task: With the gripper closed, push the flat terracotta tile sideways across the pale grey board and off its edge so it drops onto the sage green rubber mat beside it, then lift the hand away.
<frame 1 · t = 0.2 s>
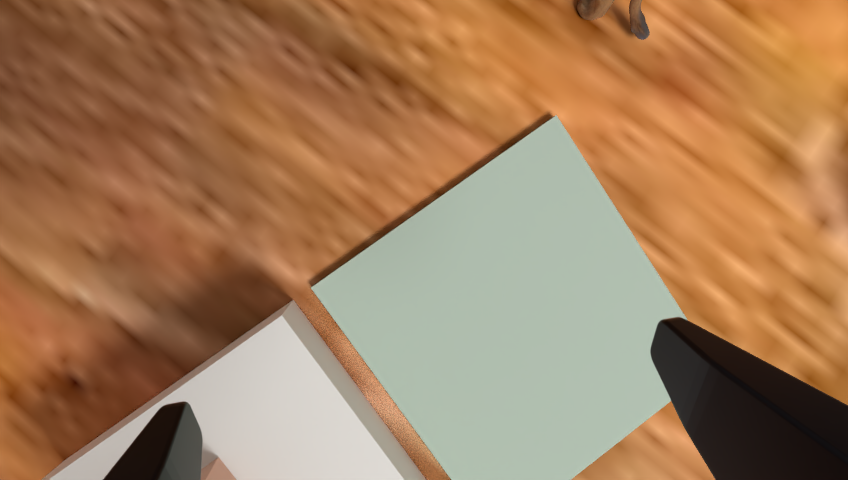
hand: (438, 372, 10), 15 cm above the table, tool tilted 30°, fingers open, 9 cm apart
mat: (522, 327, 25), on the table
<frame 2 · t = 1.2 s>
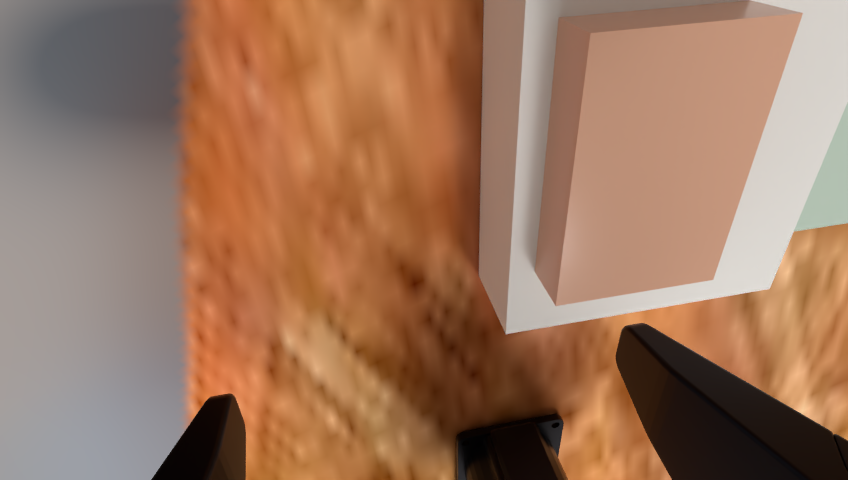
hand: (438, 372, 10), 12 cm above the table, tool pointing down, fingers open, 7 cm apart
tile: (629, 152, 18), point 4 cm above the table, touching board
board: (625, 106, 21), on the table
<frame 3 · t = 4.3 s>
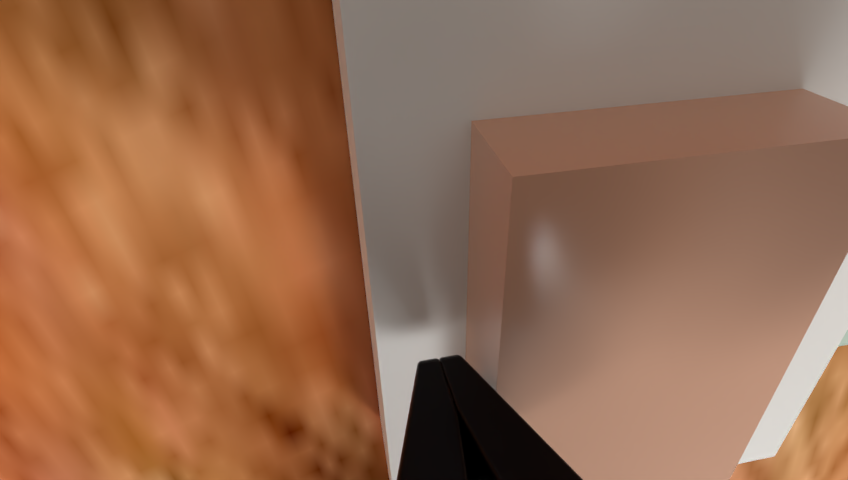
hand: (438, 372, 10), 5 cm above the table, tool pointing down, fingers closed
tile: (601, 307, 11), point 4 cm above the table, touching board, gripper
board: (572, 210, 15), on the table
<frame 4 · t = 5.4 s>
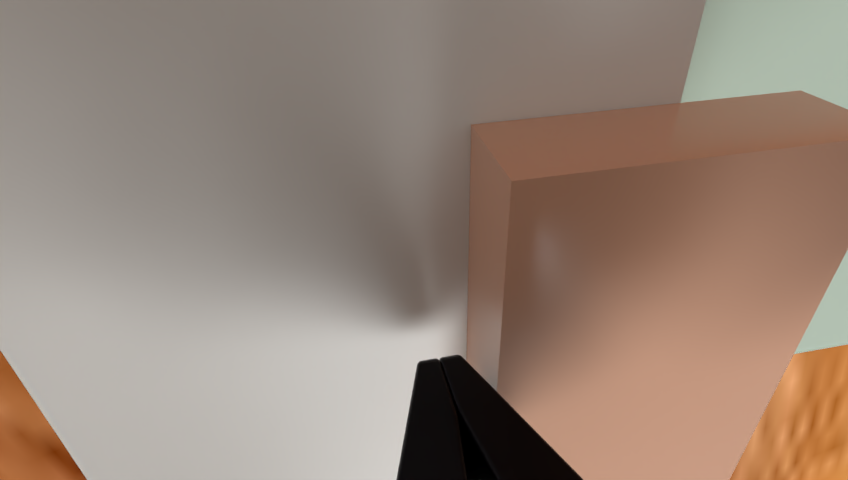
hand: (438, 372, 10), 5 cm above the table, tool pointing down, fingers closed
tile: (601, 308, 11), point 4 cm above the table, touching board
mat: (807, 180, 16), on the table
board: (342, 239, 14), on the table
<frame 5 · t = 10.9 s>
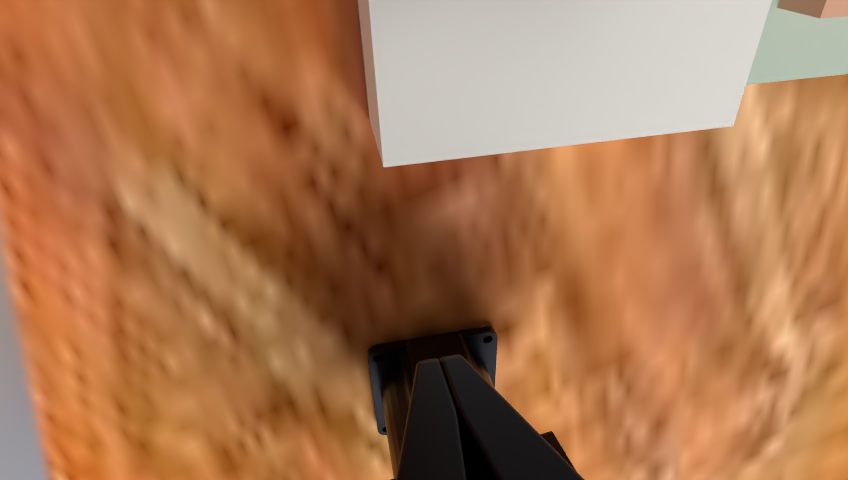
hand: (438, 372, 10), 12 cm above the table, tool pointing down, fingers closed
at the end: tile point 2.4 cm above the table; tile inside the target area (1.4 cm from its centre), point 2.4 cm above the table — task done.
